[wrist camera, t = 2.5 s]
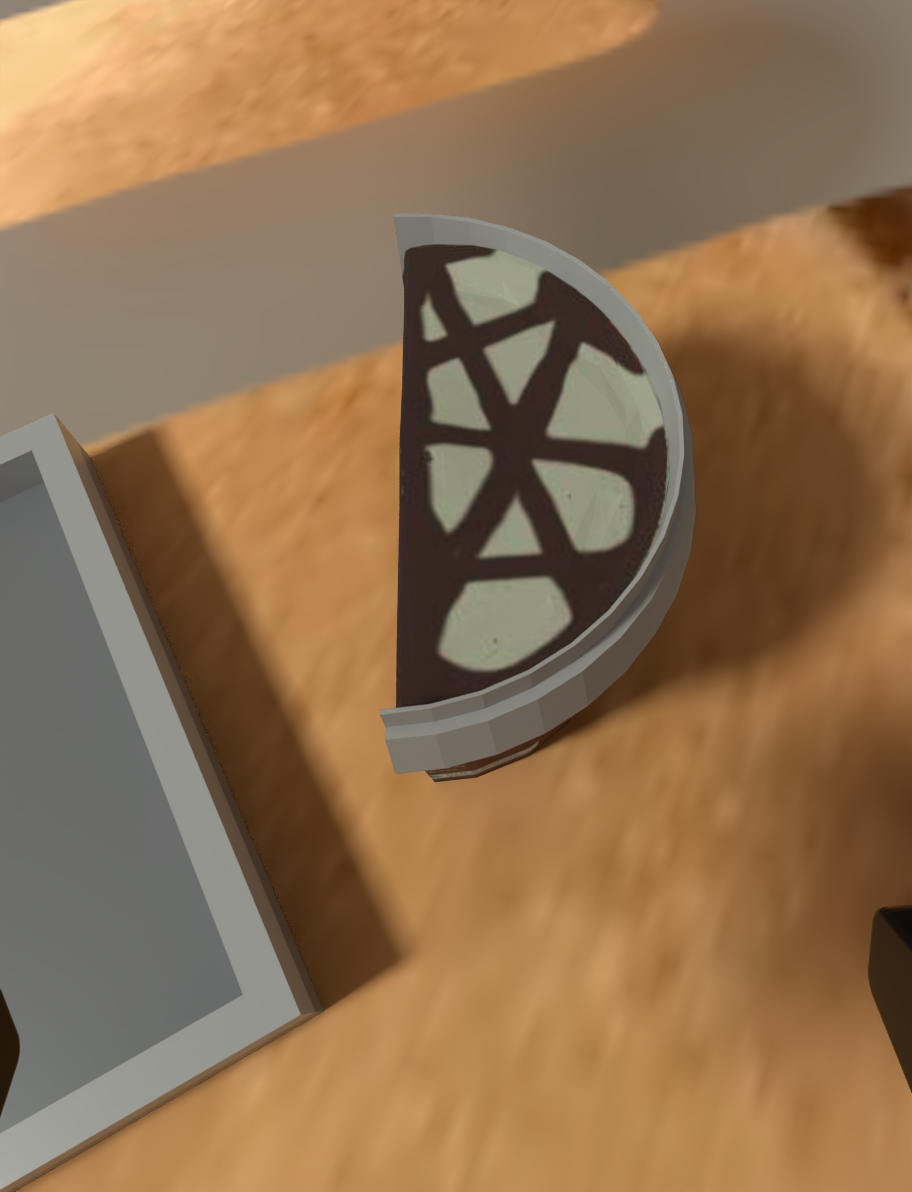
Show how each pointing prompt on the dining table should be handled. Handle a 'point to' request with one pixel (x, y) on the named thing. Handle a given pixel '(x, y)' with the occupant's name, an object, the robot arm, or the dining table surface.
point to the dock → (113, 837)
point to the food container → (525, 494)
